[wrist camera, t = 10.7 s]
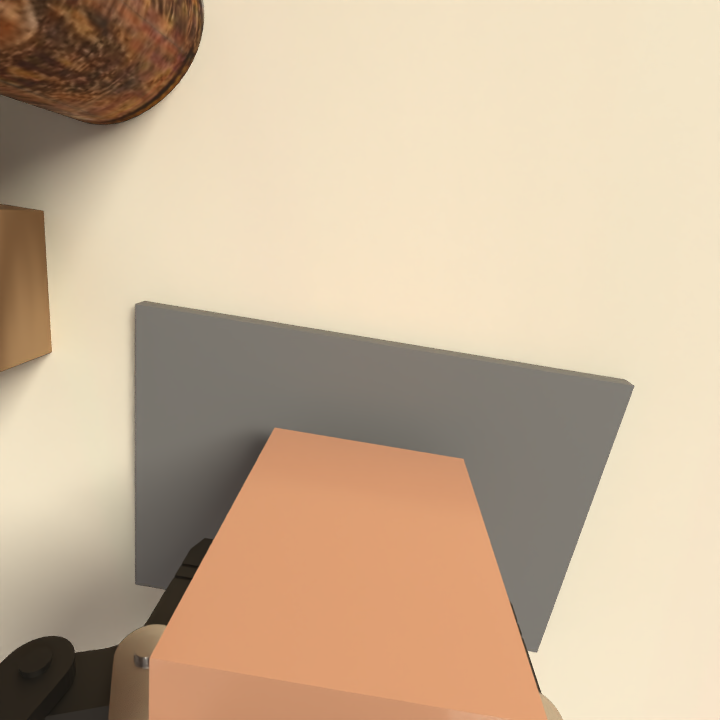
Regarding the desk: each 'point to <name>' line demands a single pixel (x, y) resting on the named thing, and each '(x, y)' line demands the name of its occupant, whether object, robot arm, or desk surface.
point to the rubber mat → (364, 433)
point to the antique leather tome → (96, 54)
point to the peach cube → (346, 597)
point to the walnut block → (23, 287)
